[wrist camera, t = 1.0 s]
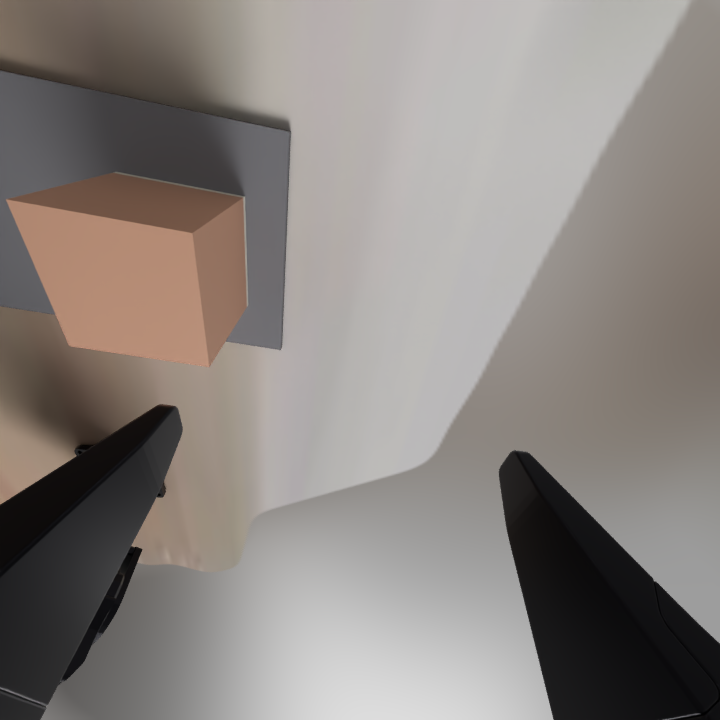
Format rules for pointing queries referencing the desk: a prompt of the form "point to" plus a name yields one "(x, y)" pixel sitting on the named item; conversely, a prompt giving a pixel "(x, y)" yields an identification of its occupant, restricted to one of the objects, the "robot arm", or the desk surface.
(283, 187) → the mat
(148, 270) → the cube
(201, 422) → the desk surface
